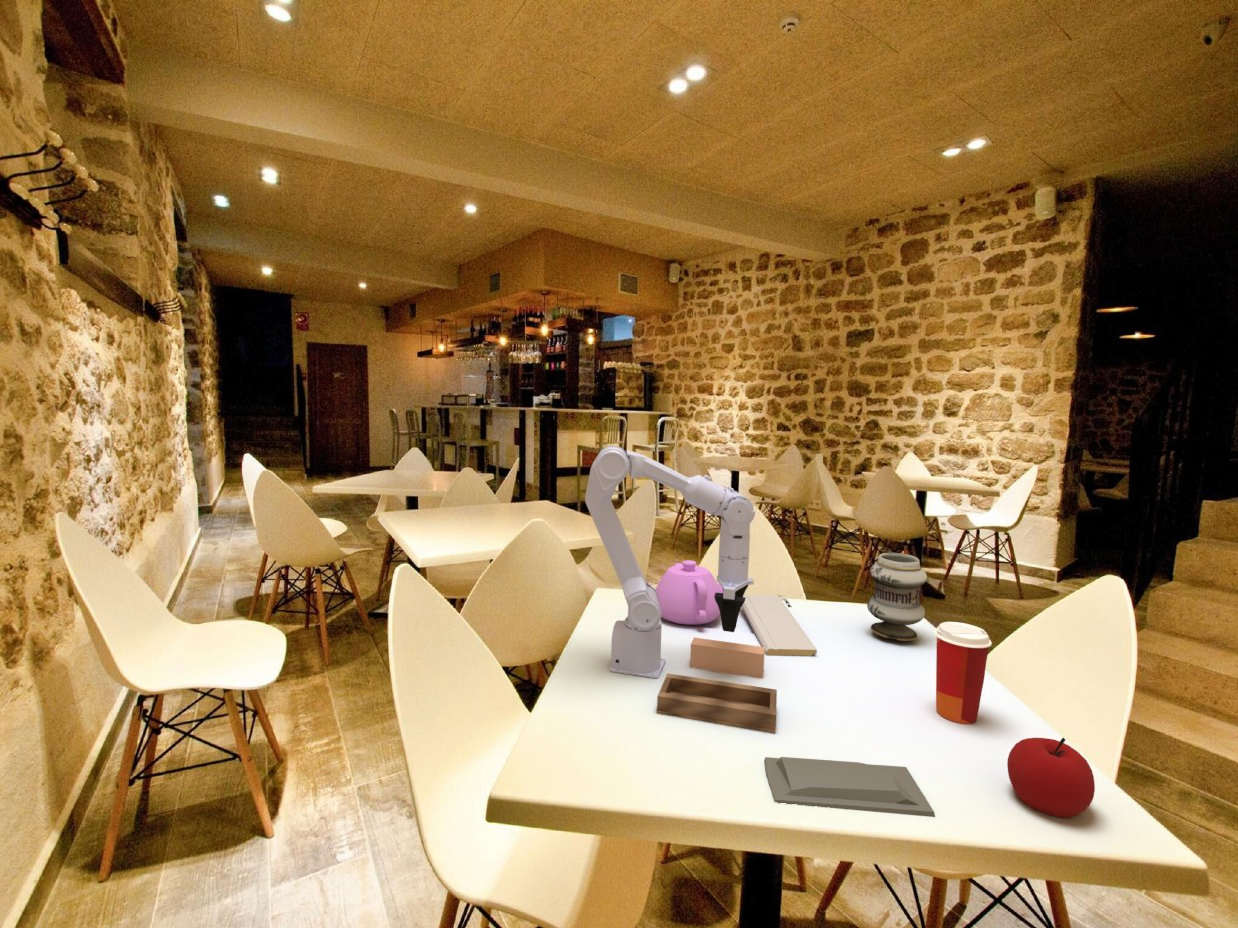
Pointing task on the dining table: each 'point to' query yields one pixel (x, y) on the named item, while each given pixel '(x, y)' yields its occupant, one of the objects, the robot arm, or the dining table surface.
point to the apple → (1051, 777)
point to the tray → (718, 702)
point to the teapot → (688, 594)
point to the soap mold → (845, 786)
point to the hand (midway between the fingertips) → (730, 623)
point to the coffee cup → (960, 670)
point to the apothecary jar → (896, 595)
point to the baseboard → (776, 626)
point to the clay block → (727, 657)
